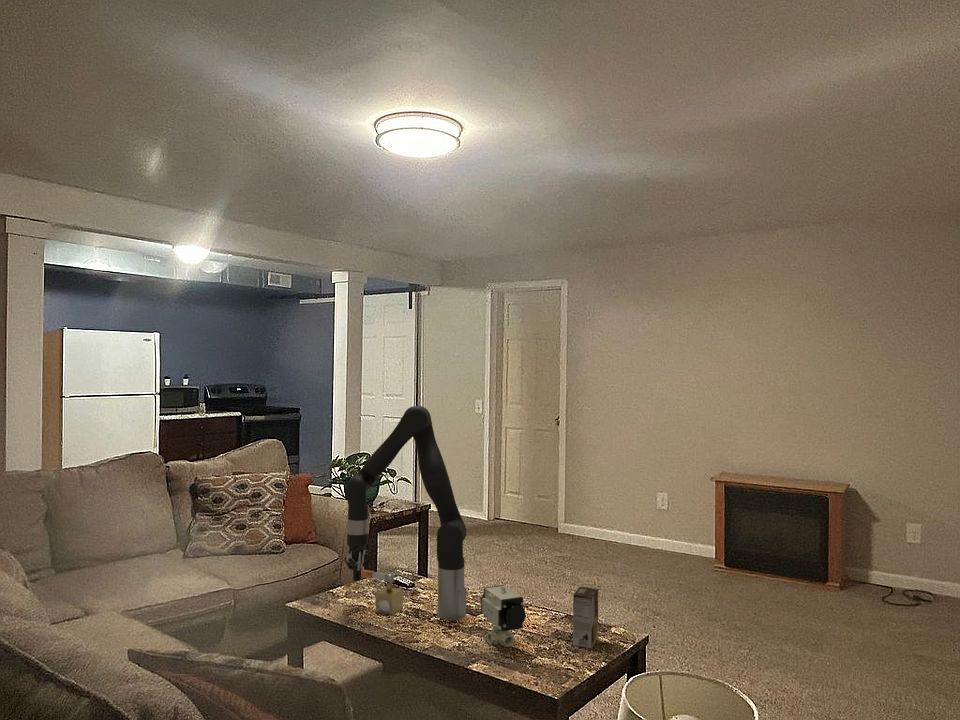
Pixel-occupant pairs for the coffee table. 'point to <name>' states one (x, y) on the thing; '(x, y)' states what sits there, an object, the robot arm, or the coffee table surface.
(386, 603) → the valve housing
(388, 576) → the valve lever
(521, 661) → the coffee table surface
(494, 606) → the ball valve
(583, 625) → the coffee box
